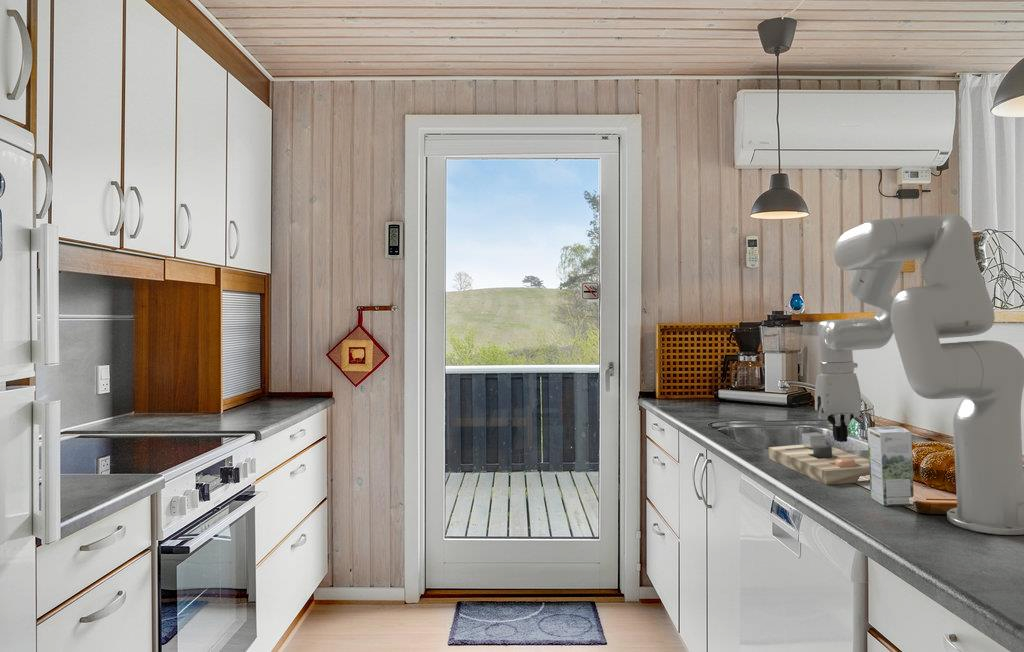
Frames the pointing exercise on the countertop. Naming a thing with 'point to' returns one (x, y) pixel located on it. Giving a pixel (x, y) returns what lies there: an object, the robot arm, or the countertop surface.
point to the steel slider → (813, 439)
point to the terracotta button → (844, 462)
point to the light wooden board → (820, 464)
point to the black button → (822, 451)
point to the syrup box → (890, 465)
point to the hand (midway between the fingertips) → (840, 440)
